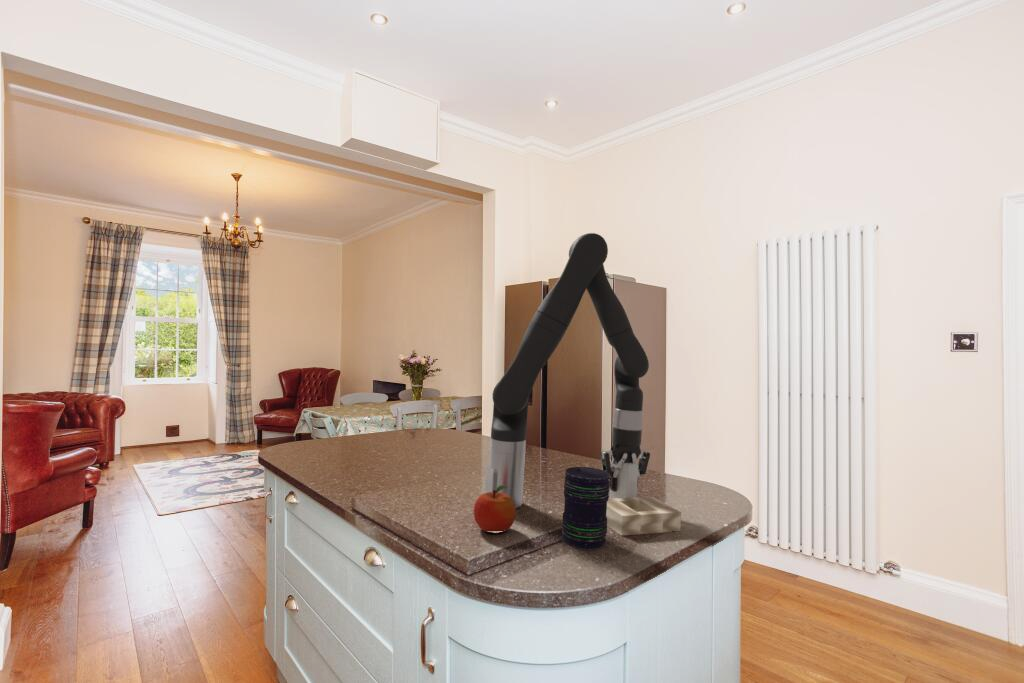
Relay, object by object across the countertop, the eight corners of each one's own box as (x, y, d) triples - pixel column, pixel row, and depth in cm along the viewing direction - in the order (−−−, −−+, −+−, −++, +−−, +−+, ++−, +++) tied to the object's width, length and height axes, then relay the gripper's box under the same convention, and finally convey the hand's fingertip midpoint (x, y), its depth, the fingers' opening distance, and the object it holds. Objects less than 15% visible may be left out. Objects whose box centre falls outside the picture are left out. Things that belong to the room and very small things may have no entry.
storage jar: (615, 545, 109) (619, 476, 109) (581, 553, 104) (585, 480, 104) (585, 529, 118) (589, 465, 118) (551, 536, 112) (555, 469, 112)
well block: (621, 535, 115) (622, 515, 115) (596, 517, 126) (597, 499, 126) (680, 531, 120) (681, 512, 120) (651, 513, 131) (652, 496, 131)
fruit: (466, 524, 116) (468, 481, 116) (504, 521, 120) (506, 479, 120) (481, 540, 107) (483, 494, 107) (521, 536, 111) (524, 490, 111)
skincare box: (636, 510, 132) (640, 464, 132) (625, 512, 129) (629, 465, 129) (618, 503, 137) (622, 458, 137) (607, 505, 134) (611, 459, 134)
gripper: (610, 428, 127) (606, 495, 127) (659, 429, 132) (654, 494, 132) (596, 423, 134) (592, 487, 134) (642, 424, 139) (638, 485, 139)
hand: (623, 490), depth 133 cm, fingers closed on skincare box, 5 cm apart
